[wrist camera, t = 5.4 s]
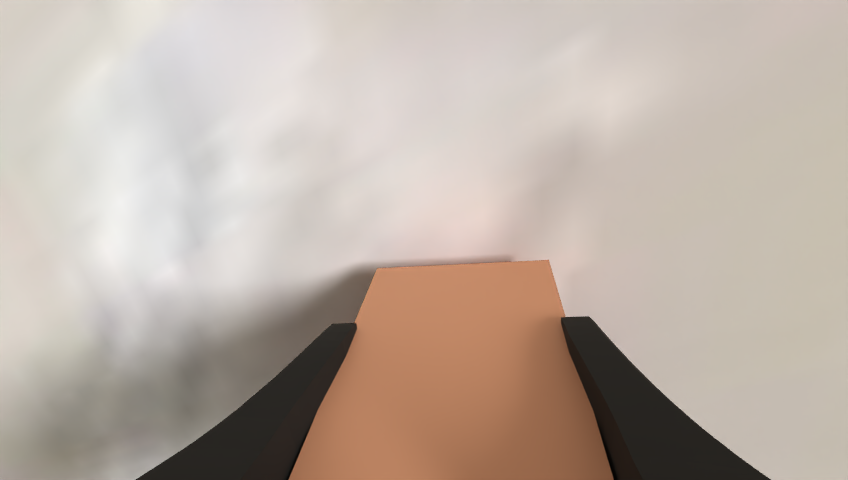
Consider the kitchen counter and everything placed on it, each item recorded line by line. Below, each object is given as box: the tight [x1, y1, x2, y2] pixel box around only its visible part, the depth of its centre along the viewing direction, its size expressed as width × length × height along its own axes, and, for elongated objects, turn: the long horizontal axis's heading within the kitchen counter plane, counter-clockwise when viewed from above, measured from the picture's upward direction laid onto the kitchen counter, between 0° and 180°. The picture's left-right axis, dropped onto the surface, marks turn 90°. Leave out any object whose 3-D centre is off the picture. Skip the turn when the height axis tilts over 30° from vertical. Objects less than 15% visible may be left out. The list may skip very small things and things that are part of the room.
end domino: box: [289, 260, 614, 480], centre depth 9 cm, size 2×5×9 cm, turn 96°
